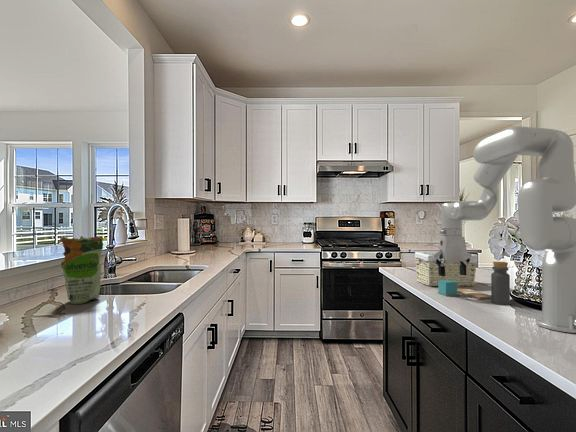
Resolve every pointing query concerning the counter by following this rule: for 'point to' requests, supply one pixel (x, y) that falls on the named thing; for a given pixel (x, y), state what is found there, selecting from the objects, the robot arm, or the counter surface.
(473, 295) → the board
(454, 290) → the cube
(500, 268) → the bottle
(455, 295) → the mat
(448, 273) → the storage basket
